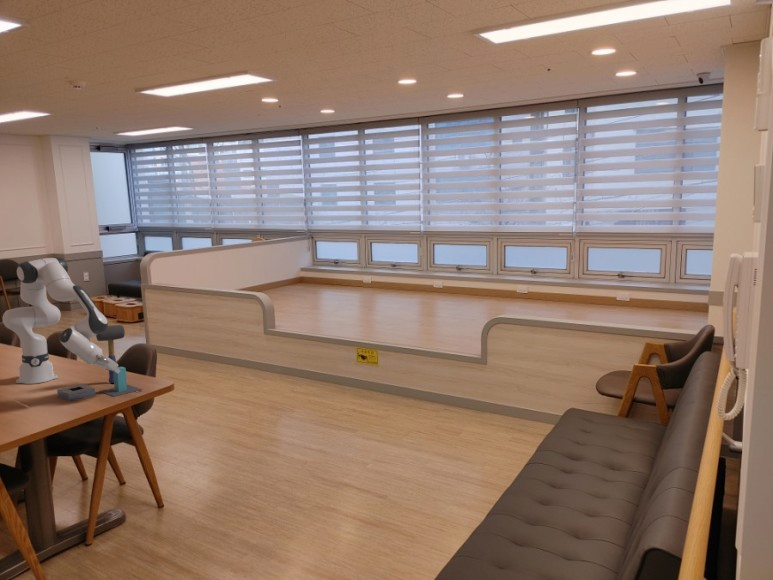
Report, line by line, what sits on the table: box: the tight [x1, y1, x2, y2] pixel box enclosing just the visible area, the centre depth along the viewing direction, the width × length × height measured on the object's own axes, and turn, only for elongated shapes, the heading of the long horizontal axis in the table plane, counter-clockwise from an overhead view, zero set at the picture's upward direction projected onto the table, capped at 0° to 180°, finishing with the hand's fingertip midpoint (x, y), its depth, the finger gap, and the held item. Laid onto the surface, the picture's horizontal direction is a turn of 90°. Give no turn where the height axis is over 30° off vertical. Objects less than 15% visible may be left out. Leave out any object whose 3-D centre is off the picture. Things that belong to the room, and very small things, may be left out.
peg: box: [113, 366, 128, 392], centre depth 279 cm, size 4×4×11 cm
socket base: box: [56, 383, 96, 402], centre depth 271 cm, size 12×12×4 cm
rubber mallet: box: [95, 324, 125, 383], centre depth 293 cm, size 12×8×30 cm, turn 131°
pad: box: [99, 384, 143, 398], centre depth 280 cm, size 14×14×1 cm
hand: (113, 370), depth 277 cm, fingers open, 8 cm apart
